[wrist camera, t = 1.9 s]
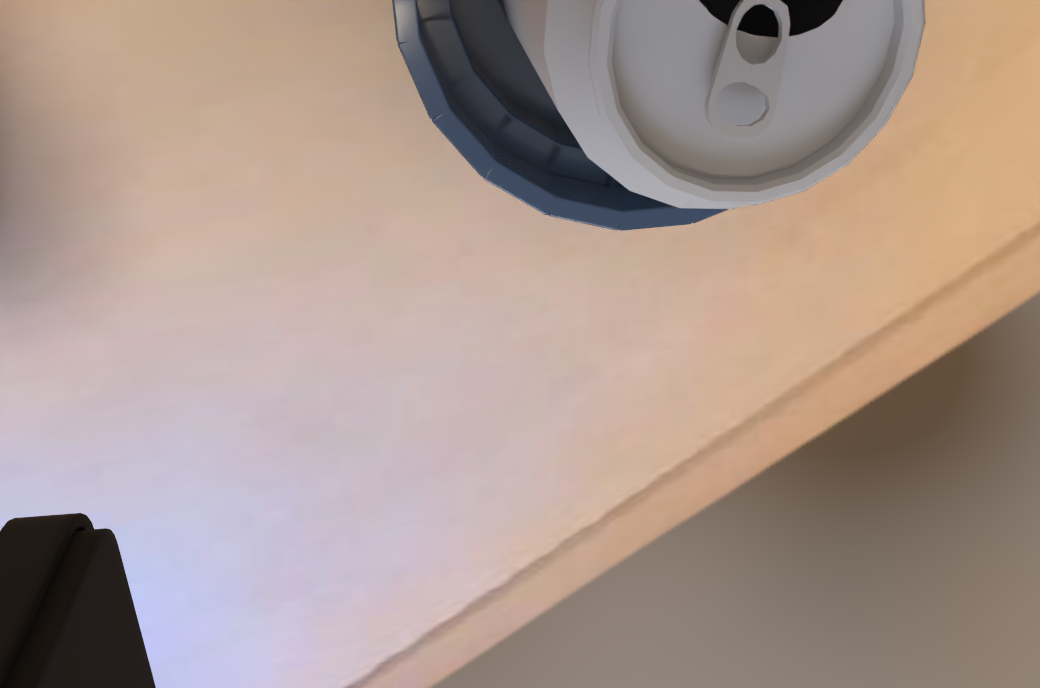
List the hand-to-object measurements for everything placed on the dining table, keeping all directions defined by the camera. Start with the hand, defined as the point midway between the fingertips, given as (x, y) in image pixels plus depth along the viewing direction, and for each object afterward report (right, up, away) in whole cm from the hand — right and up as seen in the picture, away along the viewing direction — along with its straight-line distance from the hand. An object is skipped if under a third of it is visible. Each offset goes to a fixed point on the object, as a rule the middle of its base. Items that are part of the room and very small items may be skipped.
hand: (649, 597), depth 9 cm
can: (+2, +13, +19) cm, 24 cm away
